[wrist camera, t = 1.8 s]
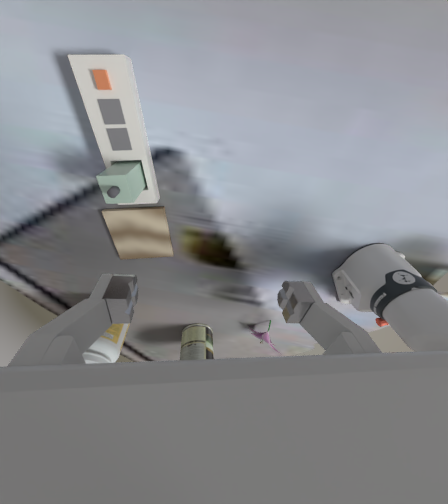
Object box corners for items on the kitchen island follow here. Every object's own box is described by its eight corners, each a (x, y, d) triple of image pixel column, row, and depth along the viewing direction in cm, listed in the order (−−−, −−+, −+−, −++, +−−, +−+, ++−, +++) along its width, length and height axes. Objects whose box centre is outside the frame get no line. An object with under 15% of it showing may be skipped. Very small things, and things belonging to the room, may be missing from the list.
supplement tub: (78, 297, 54) (36, 361, 40) (123, 290, 54) (97, 353, 40) (100, 324, 61) (70, 386, 48) (140, 318, 61) (122, 379, 48)
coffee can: (218, 328, 68) (221, 373, 56) (202, 343, 72) (201, 388, 61) (192, 319, 64) (189, 366, 52) (176, 335, 68) (170, 382, 57)
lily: (246, 311, 65) (240, 343, 61) (283, 317, 61) (281, 351, 57) (252, 321, 75) (248, 349, 70) (285, 326, 71) (283, 357, 66)
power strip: (159, 197, 40) (156, 204, 37) (123, 198, 40) (117, 206, 37) (131, 58, 28) (122, 53, 25) (79, 59, 28) (64, 53, 25)
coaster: (173, 253, 48) (173, 256, 48) (122, 256, 48) (120, 259, 47) (164, 206, 41) (163, 208, 40) (103, 209, 41) (101, 211, 40)
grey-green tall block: (148, 182, 38) (130, 206, 29) (126, 183, 38) (101, 208, 29) (143, 159, 36) (122, 178, 27) (120, 160, 36) (90, 179, 26)
